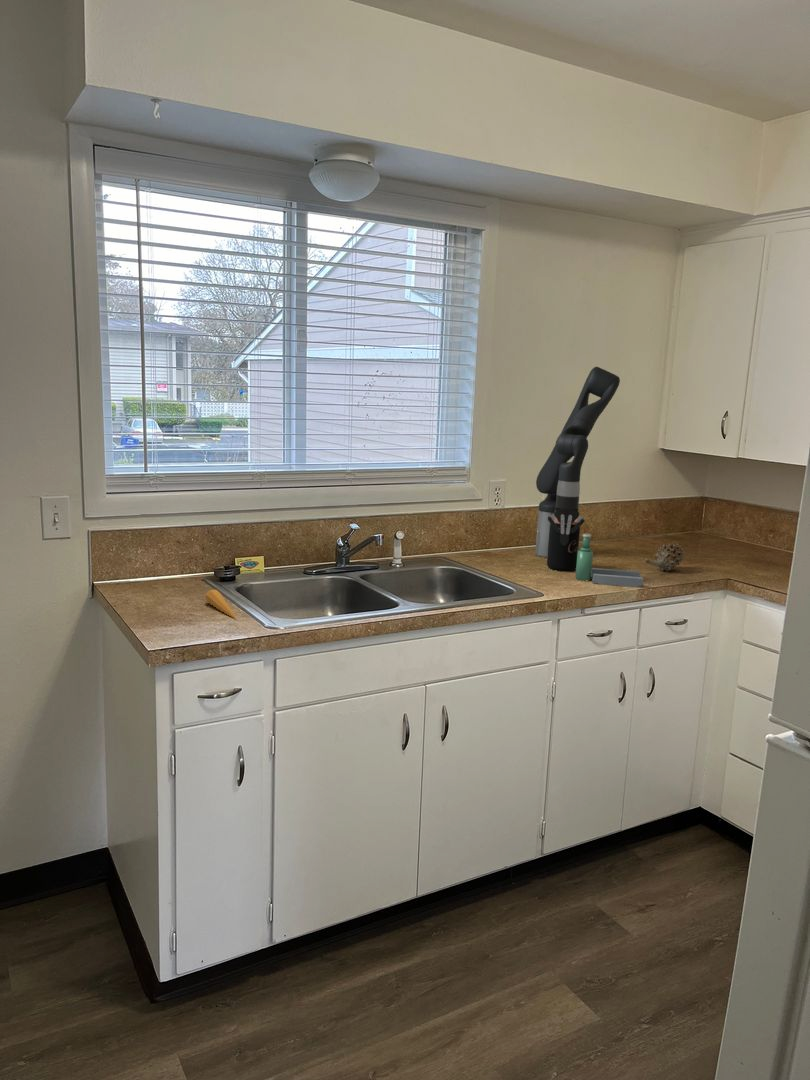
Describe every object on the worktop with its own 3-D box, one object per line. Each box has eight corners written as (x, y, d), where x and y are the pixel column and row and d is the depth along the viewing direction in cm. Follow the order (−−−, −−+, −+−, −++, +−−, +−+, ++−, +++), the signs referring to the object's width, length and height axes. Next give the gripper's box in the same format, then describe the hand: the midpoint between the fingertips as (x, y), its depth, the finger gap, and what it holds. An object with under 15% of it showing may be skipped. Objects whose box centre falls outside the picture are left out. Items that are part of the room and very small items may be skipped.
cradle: (592, 583, 275) (593, 575, 275) (591, 576, 286) (591, 567, 285) (642, 587, 273) (643, 578, 272) (638, 579, 283) (639, 571, 283)
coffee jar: (570, 573, 288) (574, 523, 285) (541, 568, 294) (545, 519, 290) (580, 568, 297) (585, 519, 294) (553, 563, 303) (556, 515, 299)
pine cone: (664, 565, 309) (667, 539, 307) (688, 569, 302) (691, 543, 300) (634, 573, 293) (637, 545, 291) (659, 578, 287) (662, 550, 285)
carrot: (206, 605, 235) (201, 592, 233) (221, 597, 237) (215, 584, 235) (232, 631, 219) (226, 617, 217) (247, 623, 221) (241, 609, 219)
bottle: (575, 580, 279) (579, 535, 276) (575, 576, 284) (578, 532, 281) (591, 581, 278) (595, 536, 275) (590, 578, 283) (594, 533, 280)
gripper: (548, 494, 274) (544, 545, 277) (588, 496, 272) (584, 548, 275) (548, 491, 281) (544, 541, 285) (587, 494, 279) (583, 544, 282)
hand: (563, 544), depth 280 cm, fingers closed
